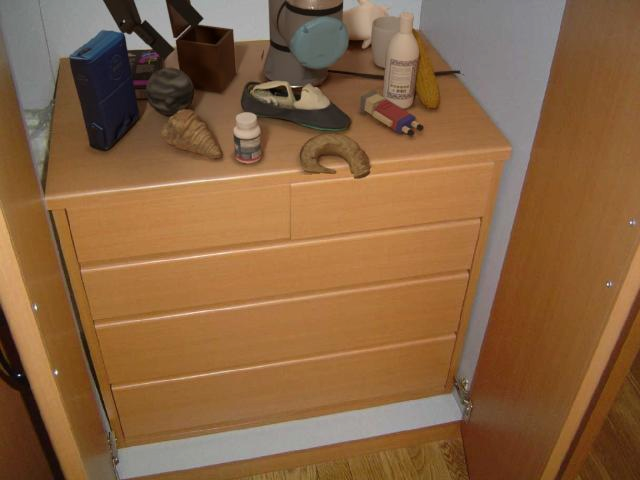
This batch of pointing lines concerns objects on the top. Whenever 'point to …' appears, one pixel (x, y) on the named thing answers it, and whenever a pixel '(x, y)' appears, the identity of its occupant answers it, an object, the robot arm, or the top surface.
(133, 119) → the blue rectangular carton
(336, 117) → the ballet flat
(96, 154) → the top surface
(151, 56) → the box
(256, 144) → the pill bottle
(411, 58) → the bath foam
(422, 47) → the food
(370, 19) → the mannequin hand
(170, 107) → the decorative stone
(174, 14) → the lid
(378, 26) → the mug
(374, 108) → the toy
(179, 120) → the seashell
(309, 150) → the artifact
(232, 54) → the chest
